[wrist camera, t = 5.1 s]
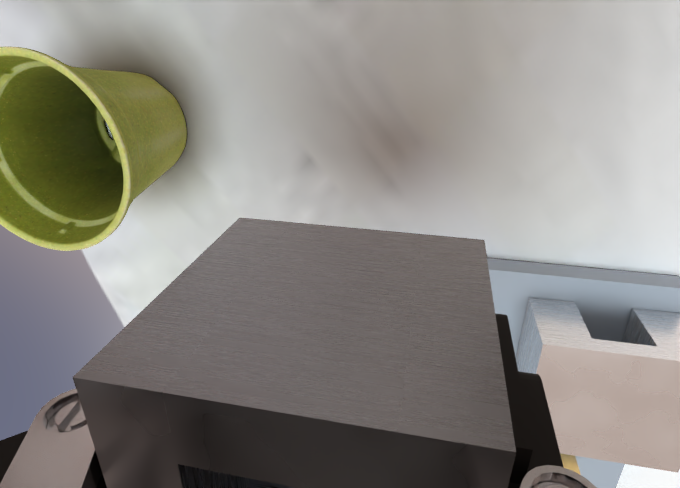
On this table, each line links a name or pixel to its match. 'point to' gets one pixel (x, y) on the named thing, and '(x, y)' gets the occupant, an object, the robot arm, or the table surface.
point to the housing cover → (607, 383)
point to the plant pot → (78, 147)
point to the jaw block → (308, 367)
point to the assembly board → (595, 308)
